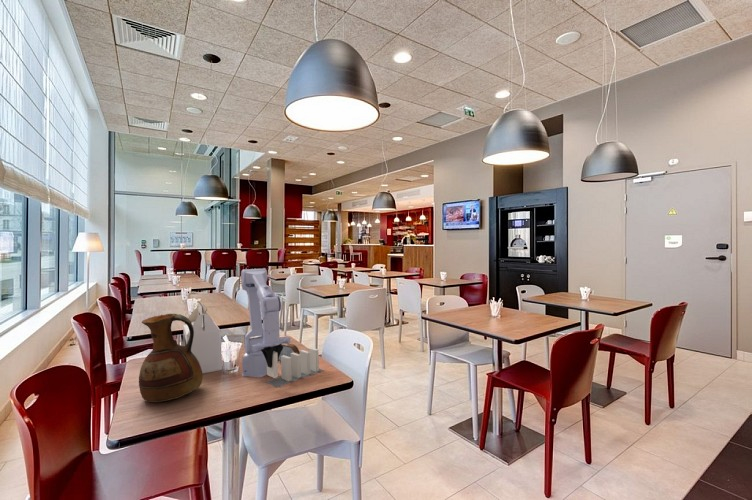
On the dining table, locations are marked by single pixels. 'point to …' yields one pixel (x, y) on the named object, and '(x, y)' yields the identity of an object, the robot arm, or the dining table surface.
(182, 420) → the dining table surface
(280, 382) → the mat
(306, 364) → the domino
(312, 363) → the domino
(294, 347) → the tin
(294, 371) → the domino
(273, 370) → the domino
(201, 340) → the gable box
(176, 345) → the ceramic pitcher
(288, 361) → the domino
